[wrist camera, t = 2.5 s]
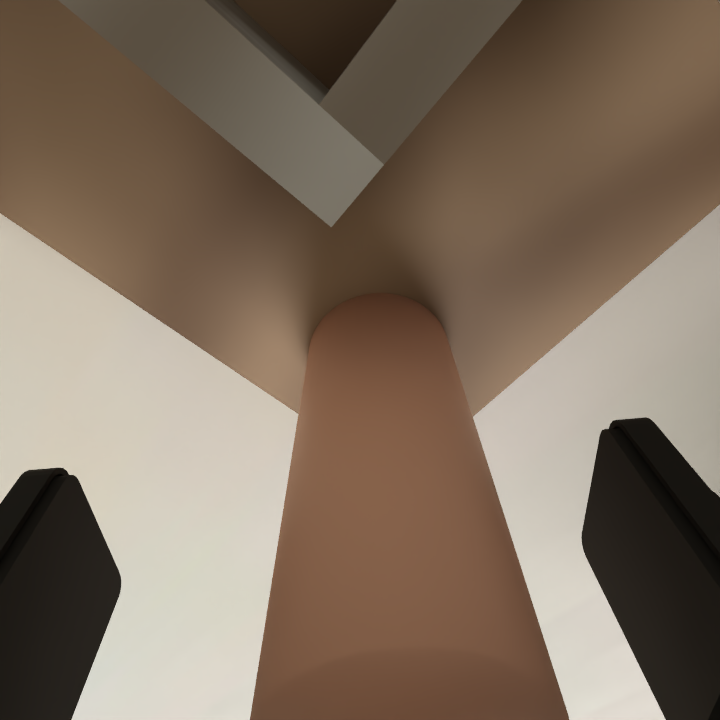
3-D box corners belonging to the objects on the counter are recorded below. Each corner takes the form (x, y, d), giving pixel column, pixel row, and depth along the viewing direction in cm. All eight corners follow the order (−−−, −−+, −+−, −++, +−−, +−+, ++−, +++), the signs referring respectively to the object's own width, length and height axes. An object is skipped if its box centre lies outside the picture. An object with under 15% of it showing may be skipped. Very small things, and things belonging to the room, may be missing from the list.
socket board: (773, 122, 14) (978, 156, 9) (395, 457, 19) (408, 584, 14) (246, -599, 9) (126, -1327, 4) (-77, 130, 14) (-291, 169, 9)
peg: (478, 351, 16) (637, 735, 7) (384, 437, 17) (414, 844, 8) (372, 263, 14) (398, 596, 6) (280, 365, 16) (185, 756, 7)
